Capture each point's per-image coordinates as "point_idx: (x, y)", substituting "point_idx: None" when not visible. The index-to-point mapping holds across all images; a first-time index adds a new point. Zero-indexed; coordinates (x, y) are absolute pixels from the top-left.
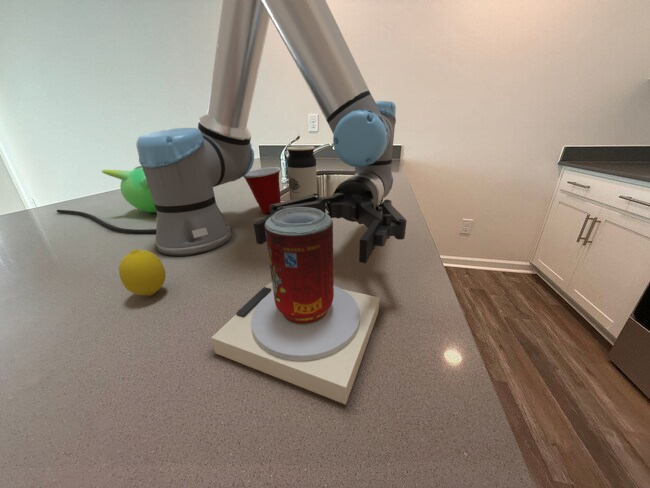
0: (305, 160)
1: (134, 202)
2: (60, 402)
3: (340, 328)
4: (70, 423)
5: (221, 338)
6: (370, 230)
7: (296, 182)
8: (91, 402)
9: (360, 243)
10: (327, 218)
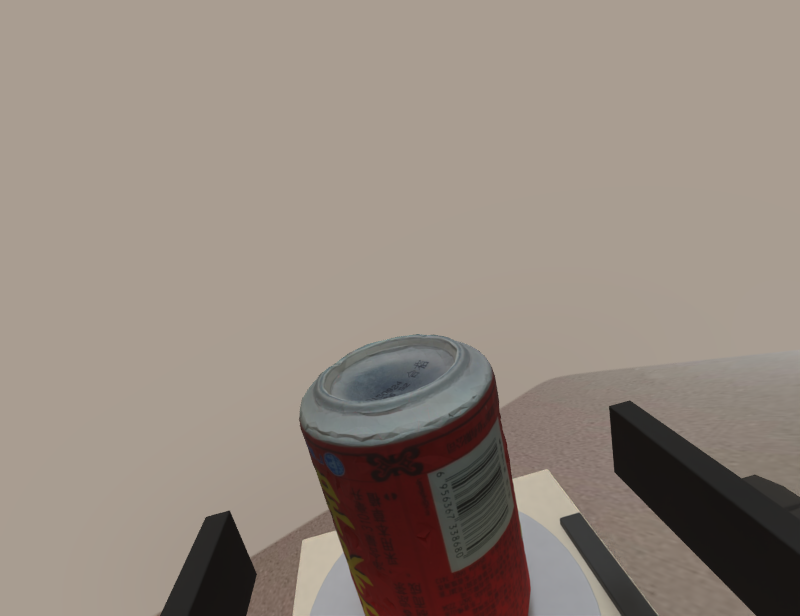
0: None
1: None
2: (596, 390)
3: (339, 613)
4: (558, 396)
5: (532, 477)
6: (179, 602)
7: None
8: (574, 405)
9: (232, 523)
10: (310, 404)
